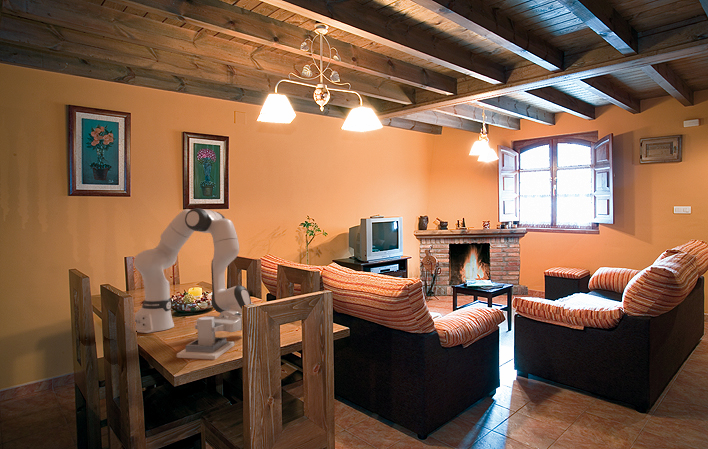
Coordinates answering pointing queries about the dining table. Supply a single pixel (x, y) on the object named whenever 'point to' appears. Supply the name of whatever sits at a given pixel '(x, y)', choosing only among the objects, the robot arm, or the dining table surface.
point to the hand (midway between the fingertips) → (204, 328)
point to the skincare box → (206, 331)
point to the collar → (206, 349)
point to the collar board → (205, 355)
